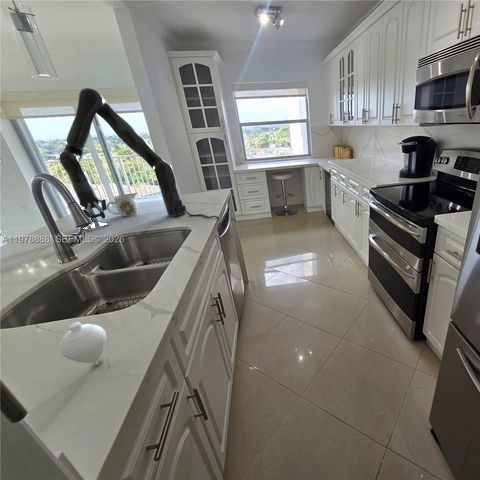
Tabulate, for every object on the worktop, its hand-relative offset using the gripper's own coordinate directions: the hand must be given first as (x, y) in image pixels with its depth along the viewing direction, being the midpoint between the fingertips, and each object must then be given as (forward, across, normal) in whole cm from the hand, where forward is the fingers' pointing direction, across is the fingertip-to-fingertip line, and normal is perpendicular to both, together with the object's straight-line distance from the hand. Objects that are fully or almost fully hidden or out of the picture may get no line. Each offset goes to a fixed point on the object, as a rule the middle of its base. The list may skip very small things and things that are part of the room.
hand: (97, 219), depth 143 cm
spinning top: (+6, -47, -108) cm, 118 cm away
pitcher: (+6, +20, +11) cm, 23 cm away
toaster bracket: (+6, 0, +10) cm, 11 cm away
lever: (-2, 0, +5) cm, 6 cm away
